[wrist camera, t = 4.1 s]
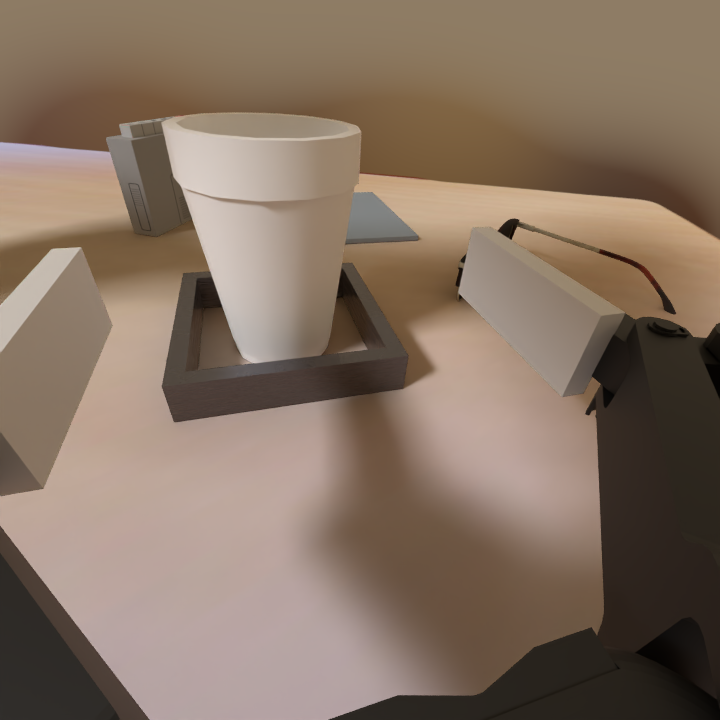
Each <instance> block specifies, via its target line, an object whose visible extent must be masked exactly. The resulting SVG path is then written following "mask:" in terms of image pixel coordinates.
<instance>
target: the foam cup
mask: <svg viewBox="0 0 720 720" xmlns="http://www.w3.org/2000/svg"><path fill="white" fill-rule="evenodd" d="M161 123H162V128H163V132H164V137H165V141H166V146H167V150H168V155H169V159H170V164H171V168H172V173H173V177H174V178H175V180H176V181H177V182H178V183H179V184H180V186H181V188H182V191H183V194H184V197H185V199H186V202H187V205H188V208H189V211H190V214H191V217H192V220H193V223H194V226H195V228H196V231H197V234H198V237H199V240H200V243H201V246H202V249H203V252H204V255H205V257H206V260H207V263H208V266H209V269H210V272H211V275H212V278H213V281H214V284H215V286H216V289H217V292H218V295H219V298H220V301H221V304H222V307H223V310H224V313H225V315H226V318H227V321H228V324H229V327H230V330H231V333H232V336H233V339H234V341H235V342H236V347H237V348H238V350H239V352H240V354H241V355H242V357H243V358H244V359H246V360H248V361H250V362H252V363H262V362H270V361H279V360H287V359H295V358H304V357H312V356H321V355H322V353H323V352H324V351H325V350H326V348H327V347H328V340H329V339H330V334H331V328H332V322H333V315H334V309H335V303H336V297H337V291H338V285H339V278H340V272H341V266H342V260H343V254H344V248H345V242H346V235H347V229H348V223H349V217H350V211H351V205H352V199H353V192H354V186H356V185H357V184H359V167H360V147H361V146H360V145H361V131H360V129H359V128H358V126H356V125H352V124H349V123H345V122H341V121H338V120H332V119H325V118H318V117H311V116H300V115H287V114H275V113H236V112H235V113H202V114H194V115H185V116H177V117H173V118H170V119H168V120H165V121H163V122H161Z"/></svg>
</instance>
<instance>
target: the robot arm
mask: <svg viewBox="0 0 720 720" xmlns="http://www.w3.org/2000/svg"><path fill="white" fill-rule="evenodd" d="M458 293H459V294H460V295H461V296H462V297H463V298H464V299H465V300H466V301H467V302H468V303H469V304H470V305H471V306H472V307H473V308H474V309H475V310H476V311H477V312H478V313H479V314H480V315H481V316H482V317H483V318H484V319H485V320H486V321H487V322H488V323H489V324H490V325H491V326H492V327H493V328H494V329H495V330H496V331H497V332H498V333H499V334H500V335H501V337H502V338H503V339H504V340H505V341H506V342H507V343H508V344H509V345H510V346H511V347H512V348H513V349H514V350H515V351H516V352H517V353H518V354H519V355H520V356H521V357H522V358H523V359H524V360H525V361H526V362H527V363H528V364H529V365H530V366H531V367H532V368H533V369H534V370H535V371H536V372H537V373H538V374H539V375H540V376H541V377H542V378H543V379H544V380H545V381H546V382H547V383H548V384H549V385H550V386H551V387H552V388H553V389H554V390H555V391H556V392H557V393H558V394H559V395H560V396H561V397H566V396H571V395H577V394H583V393H584V391H585V389H586V388H587V386H588V384H589V382H590V380H591V378H592V377H593V378H595V379H596V380H597V381H598V382H599V383H600V384H601V385H600V387H599V389H598V390H597V392H596V394H595V396H594V398H593V399H592V401H591V403H590V405H589V407H588V408H587V410H586V413H585V414H586V415H590V413H591V411H593V410H596V416H595V417H596V419H597V443H598V468H599V492H600V516H601V541H602V565H603V590H604V615H603V621H602V624H601V626H600V629H599V632H598V635H596V634H595V632H594V631H593V629H592V628H588V629H585V630H583V631H580V632H577V633H574V634H571V635H568V636H566V637H563V638H560V639H557V640H554V641H551V642H548V643H546V644H543V645H540V646H537V647H534V648H533V649H532V650H531V651H530V652H529V653H527V654H526V655H525V656H524V657H523V658H522V659H521V660H519V661H518V662H517V663H516V664H515V665H514V666H513V667H511V668H510V669H509V670H508V671H507V672H506V673H505V674H503V675H502V676H501V677H500V678H499V679H498V680H497V681H496V682H494V683H493V684H492V685H491V686H490V687H489V688H488V689H486V690H485V691H484V692H483V693H481V694H478V695H474V696H422V695H397V696H395V697H392V698H389V699H386V700H383V701H380V702H378V703H375V704H372V705H369V706H366V707H363V708H360V709H358V710H355V711H352V712H349V713H346V714H343V715H341V716H338V717H335V718H332V719H329V720H720V323H718V324H716V326H715V327H714V328H713V330H712V331H711V333H710V334H709V336H708V337H707V338H698V337H693V336H692V335H691V334H690V332H689V331H687V329H685V328H683V327H681V326H680V325H677V324H675V323H673V322H671V321H668V320H664V319H660V318H654V317H641V318H639V319H637V320H635V319H633V318H632V317H630V316H628V315H627V314H625V312H624V311H622V310H621V309H619V308H618V307H616V306H614V305H613V304H611V303H610V302H608V301H607V300H605V299H603V298H602V297H600V296H599V295H597V294H596V293H594V292H592V291H591V290H589V289H588V288H586V287H585V286H583V285H581V284H580V283H578V282H577V281H575V280H573V279H572V278H570V277H569V276H567V275H566V274H564V273H562V272H561V271H559V270H558V269H556V268H555V267H553V266H551V265H550V264H548V263H547V262H545V261H544V260H542V259H540V258H539V257H537V256H536V255H534V254H532V253H531V252H529V251H528V250H526V249H525V248H523V247H521V246H520V245H518V244H517V243H515V242H514V241H512V240H510V239H509V238H507V237H506V236H504V235H503V234H501V233H499V232H498V231H496V230H495V229H493V228H492V227H475V228H472V232H471V237H470V241H469V246H468V250H467V255H466V259H465V264H464V269H463V273H462V278H461V282H460V287H459V292H458ZM112 326H113V325H112V323H111V320H110V318H109V315H108V313H107V310H106V308H105V305H104V303H103V300H102V298H101V295H100V293H99V290H98V288H97V285H96V283H95V280H94V278H93V275H92V273H91V270H90V268H89V265H88V263H87V260H86V258H85V255H84V253H83V250H82V248H81V247H77V248H57V249H51V250H50V251H49V253H48V254H47V255H46V256H45V257H44V258H43V259H42V260H41V261H40V262H39V263H38V265H37V266H36V267H35V268H34V269H33V270H32V271H31V272H30V273H29V274H28V275H27V277H26V278H25V279H24V280H23V281H22V282H21V283H20V284H19V285H18V286H17V287H16V289H15V290H14V291H13V292H12V293H11V294H10V295H9V296H8V297H7V298H6V300H5V301H4V302H3V303H2V304H1V305H0V496H5V495H11V494H16V493H22V492H27V491H33V490H39V489H43V488H44V486H45V484H46V481H47V479H48V476H49V474H50V472H51V469H52V467H53V465H54V462H55V460H56V458H57V455H58V453H59V451H60V448H61V446H62V443H63V441H64V439H65V436H66V434H67V432H68V429H69V427H70V425H71V422H72V420H73V418H74V415H75V413H76V410H77V408H78V406H79V403H80V401H81V399H82V396H83V394H84V392H85V389H86V387H87V385H88V382H89V380H90V377H91V375H92V373H93V370H94V368H95V366H96V363H97V361H98V359H99V356H100V354H101V352H102V349H103V347H104V344H105V342H106V340H107V337H108V335H109V333H110V330H111V328H112ZM0 720H149V719H148V717H147V716H146V715H145V713H144V712H143V711H142V709H141V708H140V707H139V706H138V704H137V703H136V702H135V700H134V699H133V698H132V696H131V695H130V694H129V693H128V691H127V690H126V689H125V687H124V686H123V685H122V683H121V682H120V681H119V680H118V678H117V677H116V676H115V674H114V673H113V672H112V670H111V669H110V668H109V667H108V665H107V664H106V663H105V661H104V660H103V659H102V657H101V656H100V655H99V654H98V652H97V651H96V650H95V648H94V647H93V646H92V645H91V643H90V642H89V641H88V639H87V638H86V637H85V635H84V634H83V633H82V632H81V630H80V629H79V628H78V626H77V625H76V624H75V622H74V621H73V620H72V619H71V617H70V616H69V615H68V613H67V612H66V611H65V609H64V608H63V607H62V606H61V604H60V603H59V602H58V600H57V599H56V598H55V596H54V595H53V594H52V593H51V591H50V590H49V589H48V587H47V586H46V585H45V583H44V582H43V581H42V580H41V578H40V577H39V576H38V574H37V573H36V572H35V571H34V569H33V568H32V567H31V565H30V564H29V563H28V561H27V560H26V559H25V558H24V556H23V555H22V554H21V552H20V551H19V550H18V548H17V547H16V546H15V545H14V543H13V542H12V541H11V539H10V538H9V537H8V535H7V534H6V533H5V532H4V530H3V529H2V528H1V526H0Z"/></svg>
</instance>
